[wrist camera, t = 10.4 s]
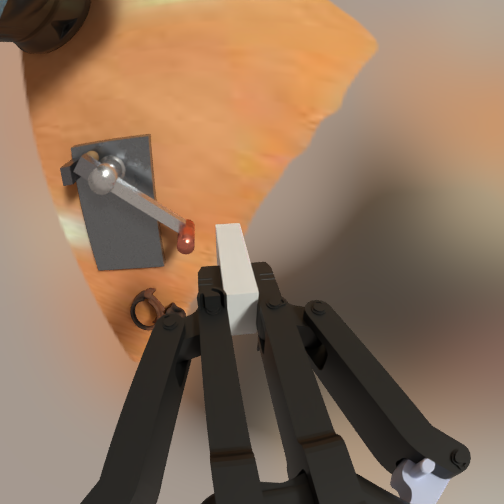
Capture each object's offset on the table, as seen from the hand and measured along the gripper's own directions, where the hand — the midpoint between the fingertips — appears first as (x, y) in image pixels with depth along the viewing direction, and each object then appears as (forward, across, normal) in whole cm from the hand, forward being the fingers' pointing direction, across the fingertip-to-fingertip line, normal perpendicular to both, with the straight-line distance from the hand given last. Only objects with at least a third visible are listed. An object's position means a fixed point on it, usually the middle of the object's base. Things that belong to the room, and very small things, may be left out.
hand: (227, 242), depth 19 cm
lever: (+30, -12, -7) cm, 33 cm away
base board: (+32, -17, -10) cm, 38 cm away
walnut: (+30, -20, 0) cm, 36 cm away
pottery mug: (+33, -13, -34) cm, 49 cm away
